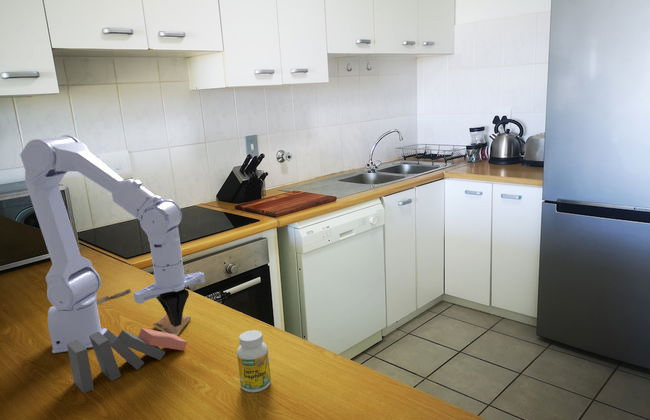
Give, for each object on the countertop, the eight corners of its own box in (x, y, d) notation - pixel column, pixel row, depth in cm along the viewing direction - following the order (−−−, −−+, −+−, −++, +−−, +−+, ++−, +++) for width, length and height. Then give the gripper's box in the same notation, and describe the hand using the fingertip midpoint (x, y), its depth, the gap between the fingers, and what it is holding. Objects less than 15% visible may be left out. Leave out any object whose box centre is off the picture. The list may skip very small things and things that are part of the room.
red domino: (183, 350, 101) (149, 344, 96) (172, 342, 105) (138, 336, 99) (187, 342, 101) (152, 335, 96) (175, 334, 105) (141, 328, 100)
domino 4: (160, 360, 98) (127, 346, 93) (149, 352, 101) (117, 338, 96) (165, 352, 98) (132, 337, 93) (154, 343, 102) (122, 329, 97)
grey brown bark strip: (83, 304, 129) (88, 311, 125) (82, 300, 129) (87, 307, 125) (129, 290, 136) (135, 296, 132) (128, 287, 135) (134, 292, 132)
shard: (175, 343, 105) (174, 336, 105) (140, 343, 106) (139, 336, 106) (193, 320, 116) (192, 313, 115) (161, 321, 117) (160, 313, 116)
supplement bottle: (269, 374, 91) (264, 326, 89) (272, 390, 86) (268, 339, 84) (239, 379, 90) (234, 330, 88) (241, 395, 85) (236, 345, 83)
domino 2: (111, 381, 91) (98, 344, 89) (101, 371, 95) (88, 336, 92) (121, 376, 93) (108, 339, 90) (110, 366, 96) (98, 331, 94)
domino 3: (137, 370, 95) (110, 345, 90) (126, 361, 98) (100, 336, 94) (144, 362, 95) (118, 337, 91) (133, 354, 99) (108, 329, 95)
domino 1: (83, 393, 88) (76, 352, 86) (74, 382, 92) (66, 343, 90) (94, 389, 89) (86, 348, 87) (84, 378, 93) (77, 340, 91)
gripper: (141, 276, 91) (151, 343, 94) (209, 256, 101) (216, 317, 104) (125, 268, 96) (135, 332, 99) (192, 250, 106) (199, 308, 109)
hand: (175, 324), depth 102 cm, fingers closed
